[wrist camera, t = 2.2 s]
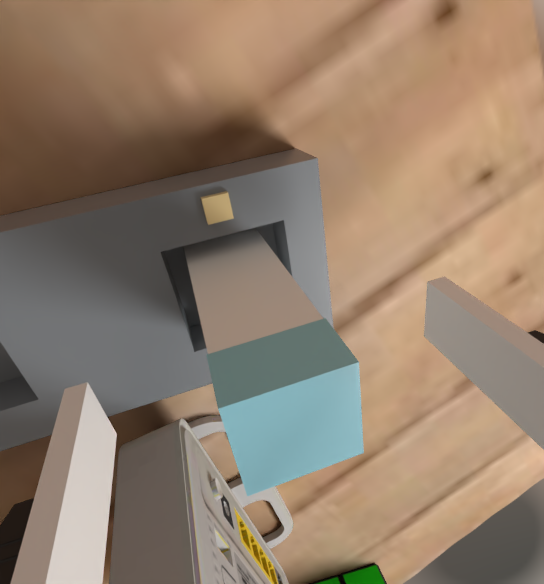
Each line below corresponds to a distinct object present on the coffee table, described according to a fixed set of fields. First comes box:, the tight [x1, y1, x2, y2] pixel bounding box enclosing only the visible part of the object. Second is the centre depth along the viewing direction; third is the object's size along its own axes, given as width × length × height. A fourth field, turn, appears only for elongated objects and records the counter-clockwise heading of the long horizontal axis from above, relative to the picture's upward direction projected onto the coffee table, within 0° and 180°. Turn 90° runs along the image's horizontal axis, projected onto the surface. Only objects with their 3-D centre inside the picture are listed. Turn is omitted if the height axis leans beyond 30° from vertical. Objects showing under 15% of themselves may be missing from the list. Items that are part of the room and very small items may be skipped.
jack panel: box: [0, 149, 333, 451], centre depth 20 cm, size 24×11×3 cm, turn 98°
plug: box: [183, 228, 364, 497], centre depth 17 cm, size 4×4×12 cm
